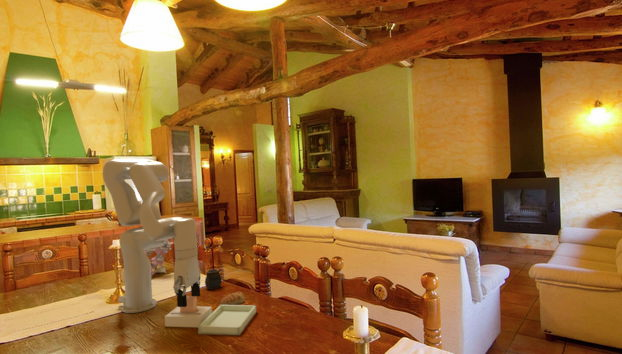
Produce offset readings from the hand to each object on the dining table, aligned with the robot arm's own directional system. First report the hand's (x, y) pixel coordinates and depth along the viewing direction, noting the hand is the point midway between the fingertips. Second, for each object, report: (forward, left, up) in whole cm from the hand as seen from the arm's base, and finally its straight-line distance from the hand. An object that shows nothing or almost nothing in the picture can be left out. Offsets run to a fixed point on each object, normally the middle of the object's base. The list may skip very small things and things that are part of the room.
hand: (189, 301), depth 122 cm
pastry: (+9, +18, -8) cm, 22 cm away
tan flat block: (-1, 0, -7) cm, 7 cm away
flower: (-47, +50, -8) cm, 69 cm away
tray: (+14, 0, -7) cm, 16 cm away
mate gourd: (-7, +34, -8) cm, 36 cm away
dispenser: (-1, 0, -7) cm, 7 cm away
